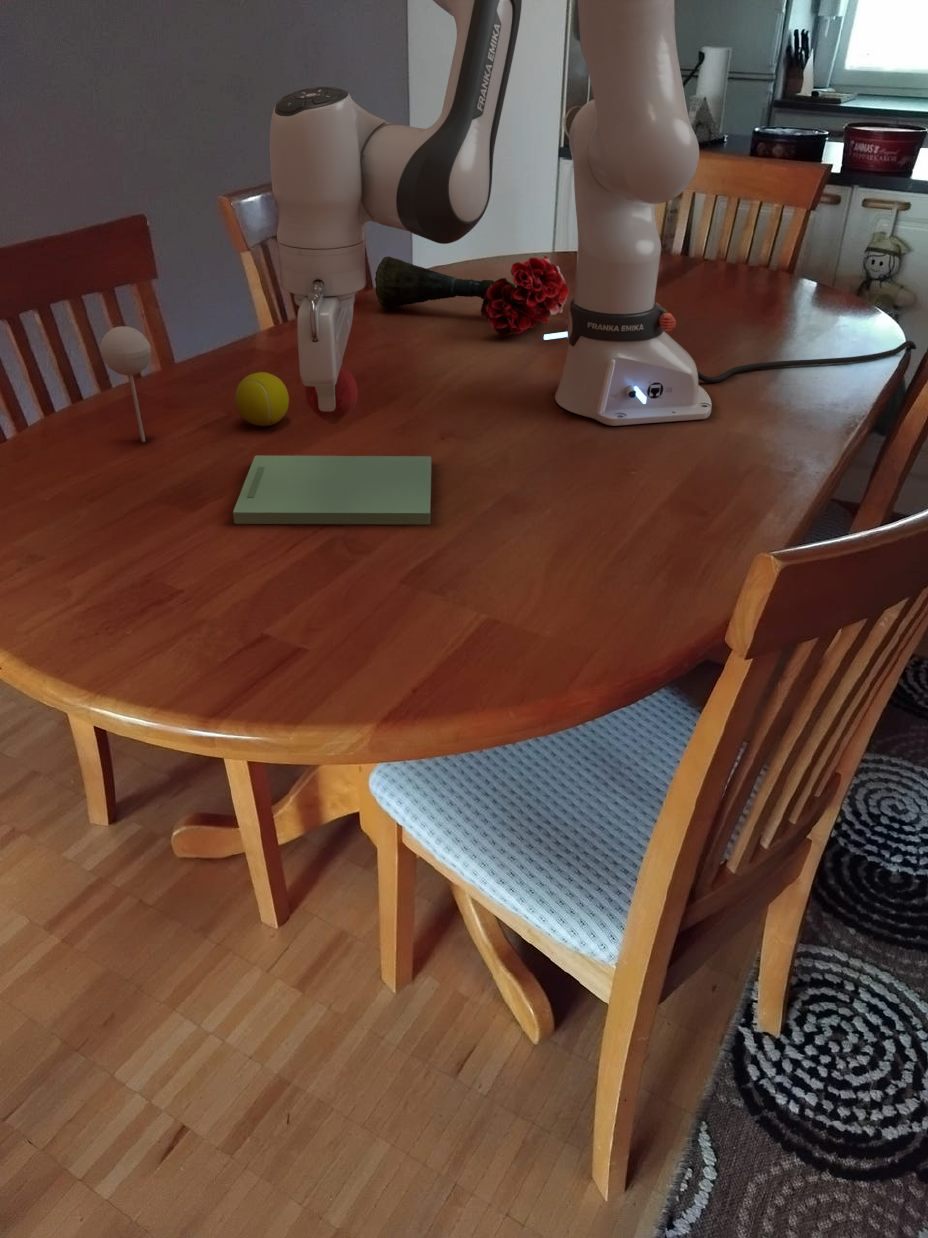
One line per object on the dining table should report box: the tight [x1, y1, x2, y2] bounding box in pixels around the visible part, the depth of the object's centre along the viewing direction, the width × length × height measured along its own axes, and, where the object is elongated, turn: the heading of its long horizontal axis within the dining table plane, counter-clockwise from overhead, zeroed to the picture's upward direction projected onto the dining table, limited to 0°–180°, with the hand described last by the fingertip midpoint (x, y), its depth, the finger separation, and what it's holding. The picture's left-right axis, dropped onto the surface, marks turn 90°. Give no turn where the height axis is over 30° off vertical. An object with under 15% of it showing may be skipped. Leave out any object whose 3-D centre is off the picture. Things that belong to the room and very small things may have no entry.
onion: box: [305, 364, 359, 425], centre depth 104 cm, size 6×6×8 cm
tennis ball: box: [234, 371, 290, 427], centre depth 127 cm, size 7×7×7 cm
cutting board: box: [232, 454, 432, 526], centre depth 111 cm, size 22×15×2 cm
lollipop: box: [99, 325, 152, 443], centre depth 119 cm, size 6×6×15 cm
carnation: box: [374, 255, 570, 338], centre depth 164 cm, size 16×18×35 cm
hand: (331, 396), depth 105 cm, fingers closed on onion, 6 cm apart
